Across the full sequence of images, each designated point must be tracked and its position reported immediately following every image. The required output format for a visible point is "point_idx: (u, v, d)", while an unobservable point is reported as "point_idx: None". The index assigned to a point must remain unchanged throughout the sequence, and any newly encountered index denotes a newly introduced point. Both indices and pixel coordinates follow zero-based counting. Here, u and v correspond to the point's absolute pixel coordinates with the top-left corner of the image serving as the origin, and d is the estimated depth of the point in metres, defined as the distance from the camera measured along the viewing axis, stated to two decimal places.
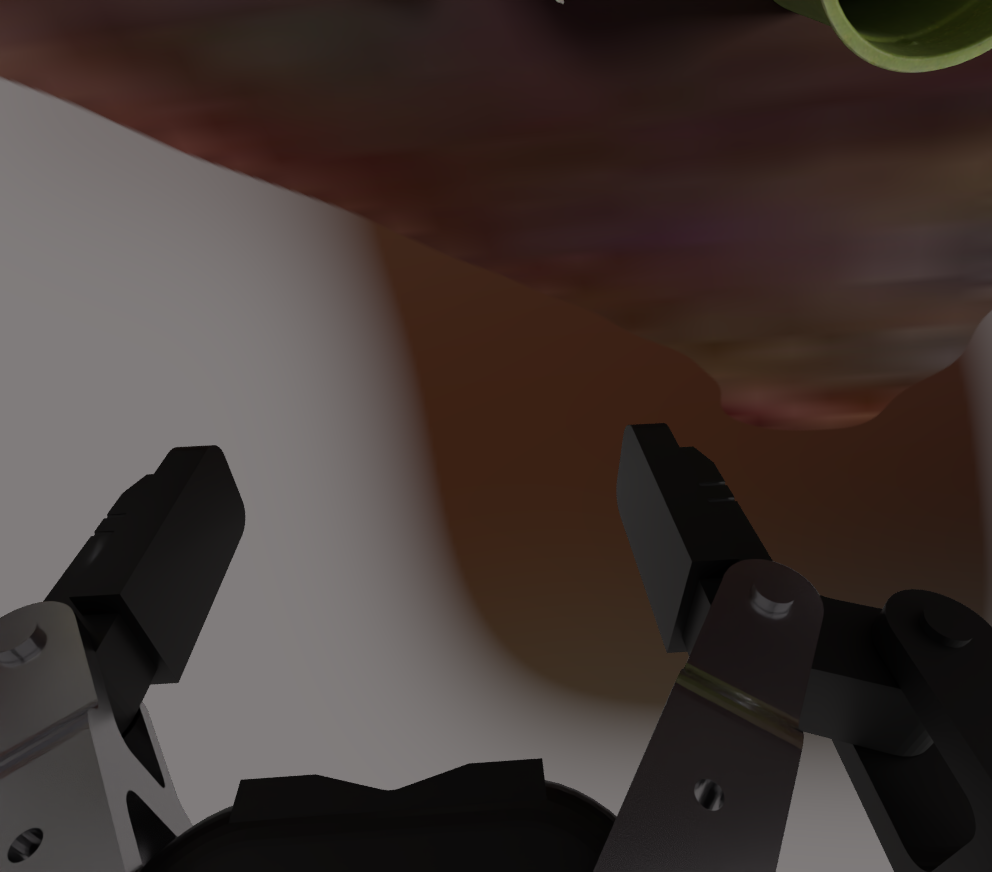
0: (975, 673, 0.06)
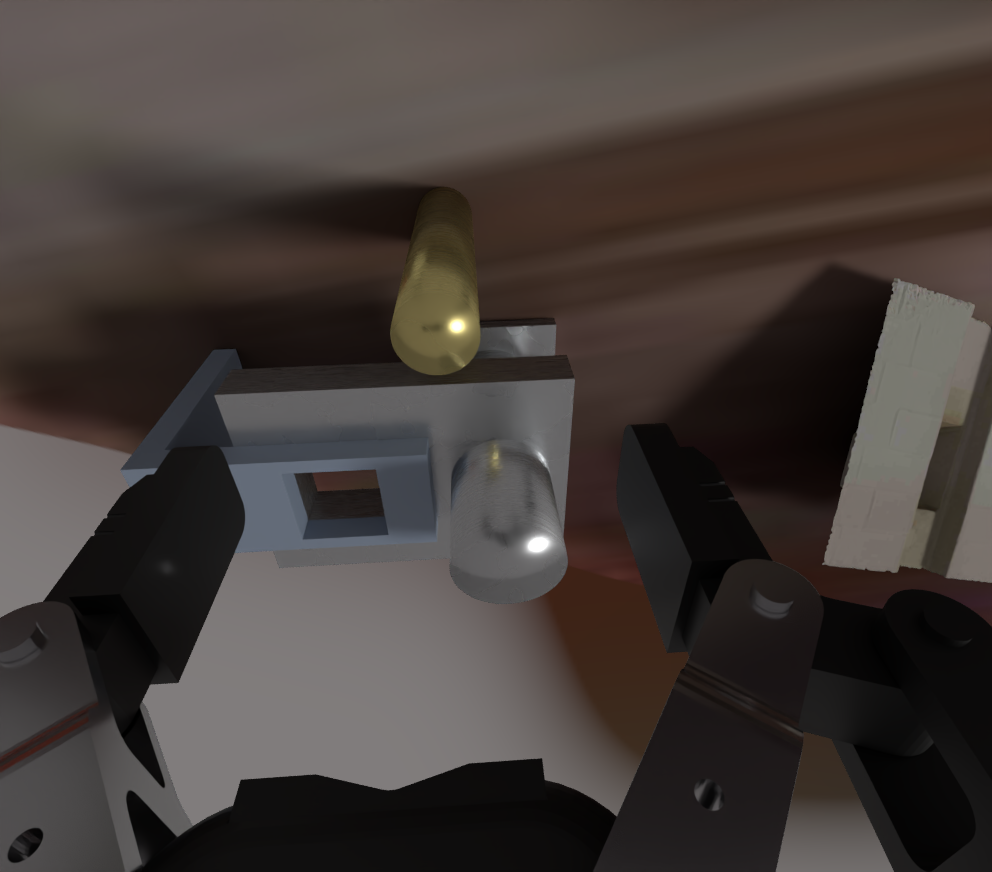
0: (975, 673, 0.06)
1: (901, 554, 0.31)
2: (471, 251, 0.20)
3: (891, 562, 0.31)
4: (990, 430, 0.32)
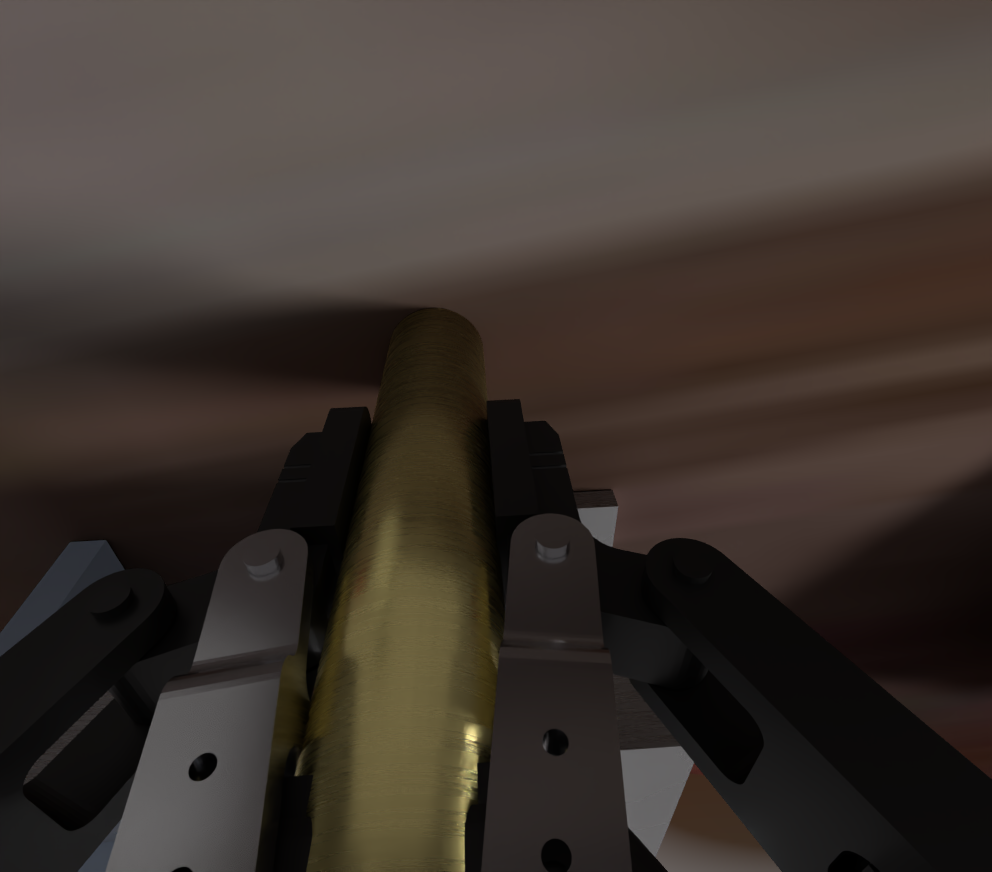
0: (723, 600, 0.07)
1: None
2: (491, 517, 0.09)
3: None
4: None
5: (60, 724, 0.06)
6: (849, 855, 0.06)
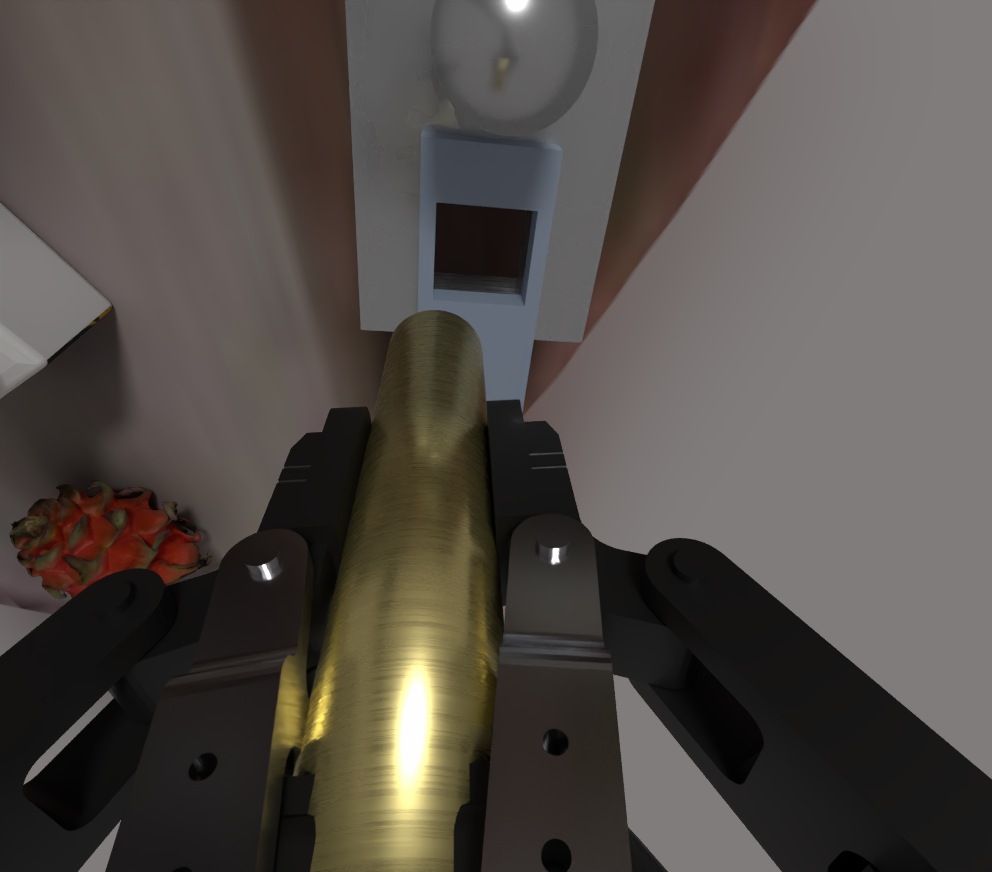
0: (723, 600, 0.07)
1: None
2: (489, 519, 0.09)
3: None
4: None
5: (60, 724, 0.06)
6: (849, 855, 0.06)
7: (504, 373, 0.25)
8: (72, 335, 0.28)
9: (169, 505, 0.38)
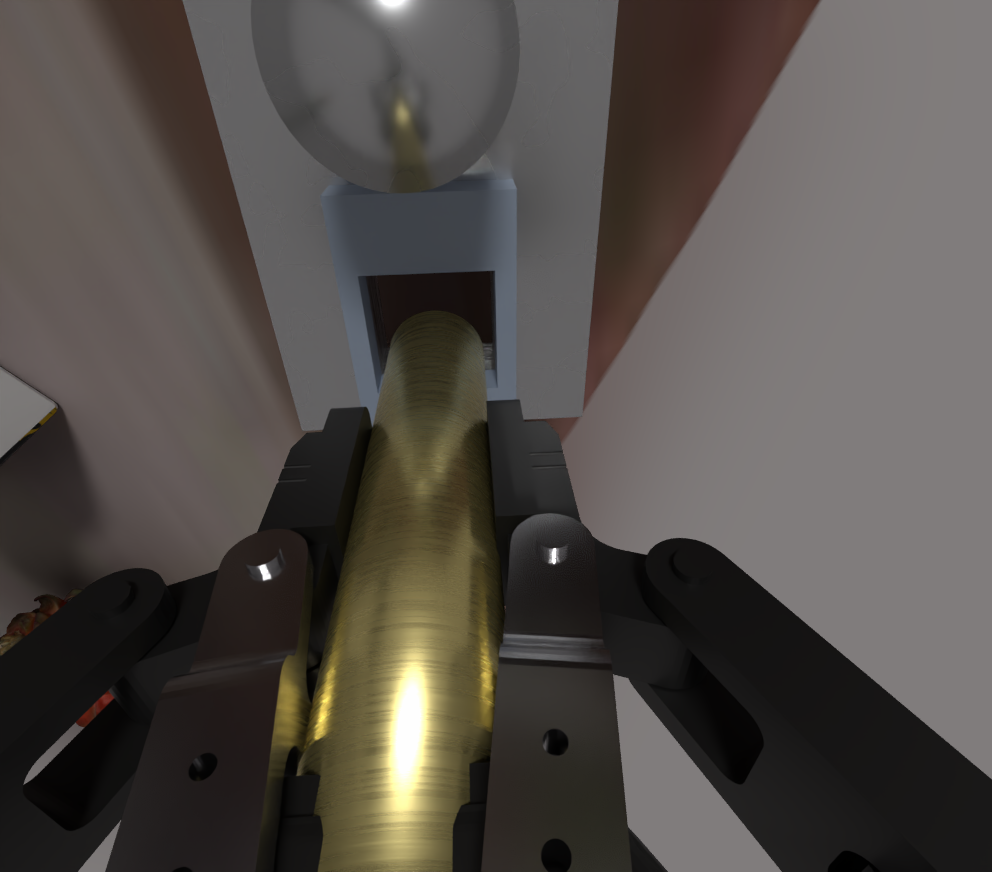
0: (723, 600, 0.07)
1: None
2: (491, 520, 0.09)
3: None
4: None
5: (60, 724, 0.06)
6: (849, 855, 0.06)
7: None
8: (3, 451, 0.25)
9: None
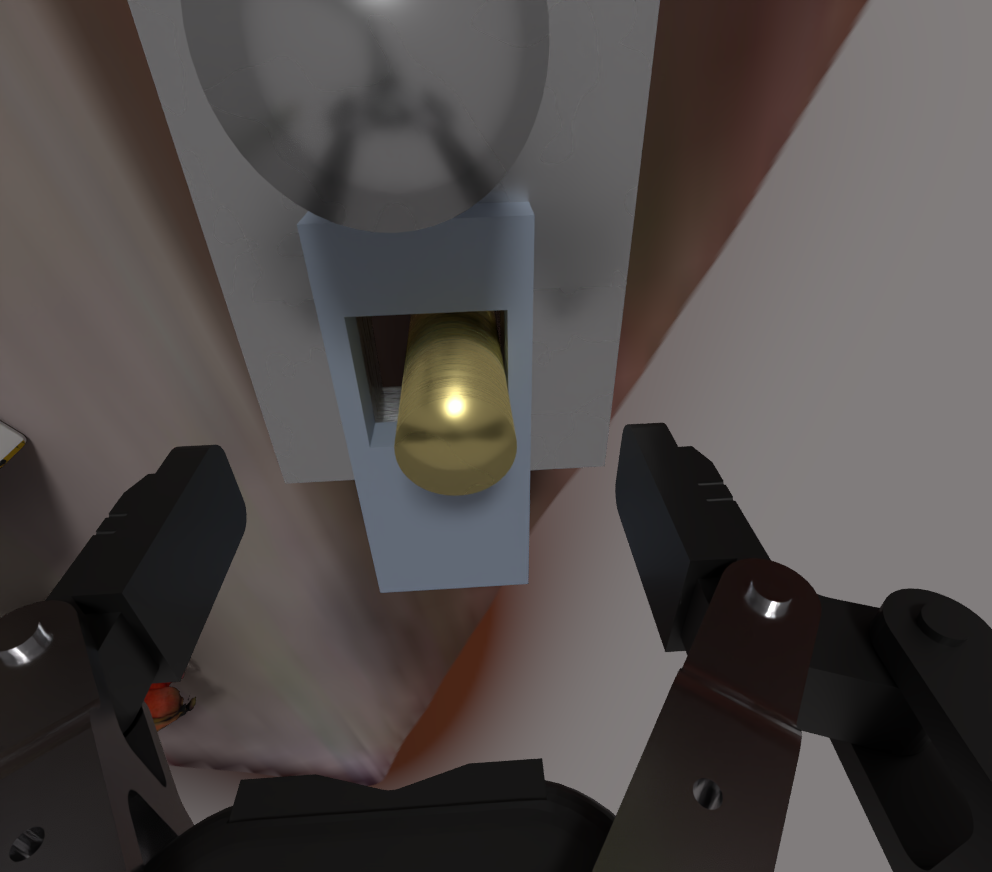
0: (972, 672, 0.06)
1: None
2: (492, 312, 0.16)
3: None
4: None
5: None
6: None
7: (494, 525, 0.17)
8: None
9: None
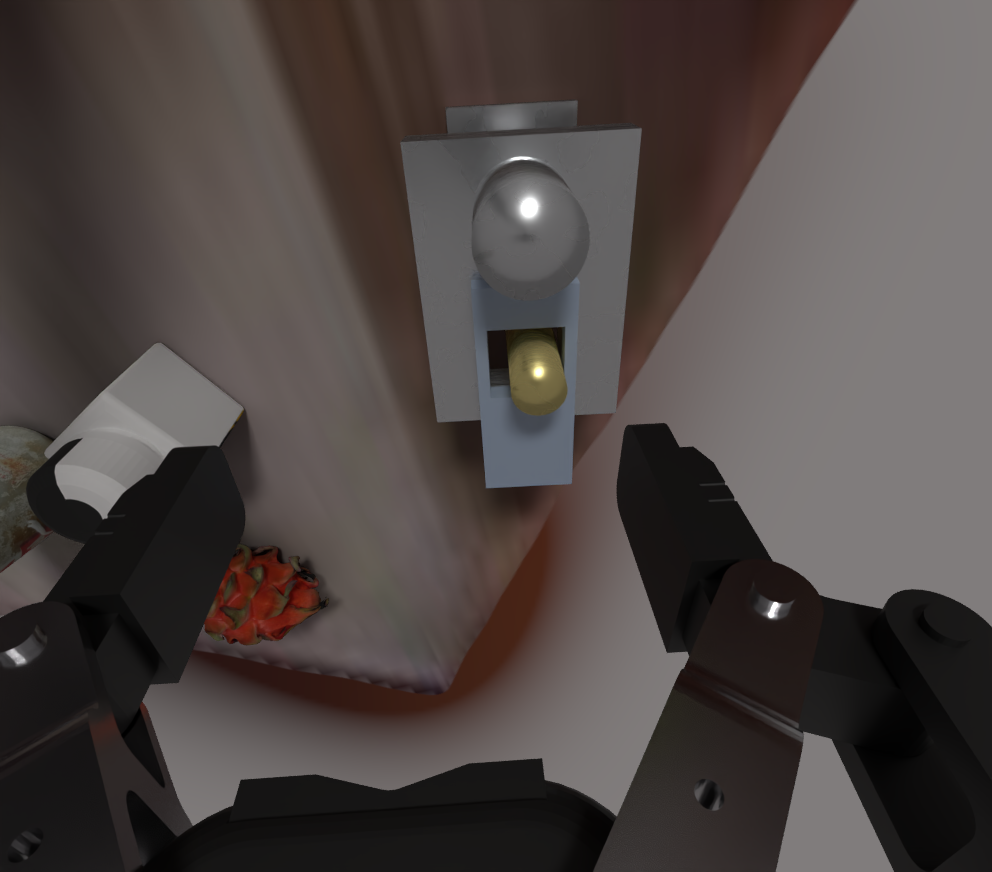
0: (975, 673, 0.06)
1: None
2: (551, 327, 0.30)
3: None
4: None
5: None
6: None
7: (553, 445, 0.31)
8: (221, 439, 0.37)
9: (294, 559, 0.46)
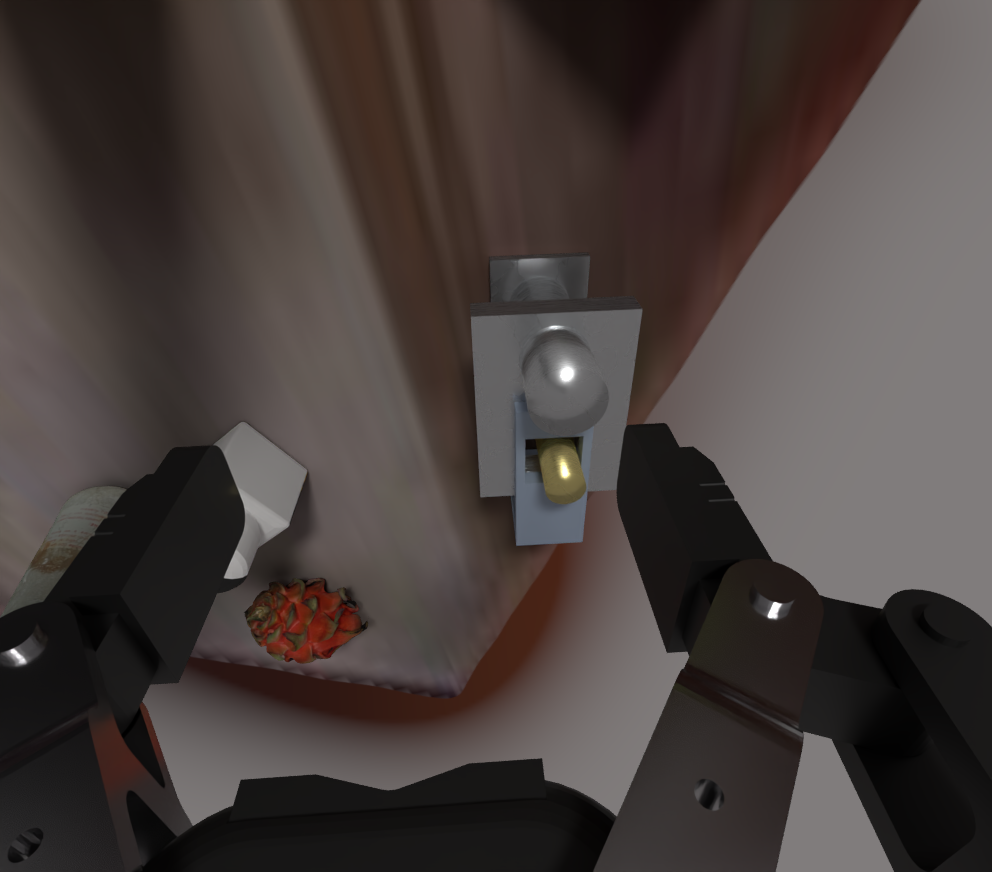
0: (975, 673, 0.06)
1: None
2: None
3: None
4: None
5: None
6: None
7: (570, 515, 0.40)
8: (296, 500, 0.46)
9: (342, 590, 0.55)
